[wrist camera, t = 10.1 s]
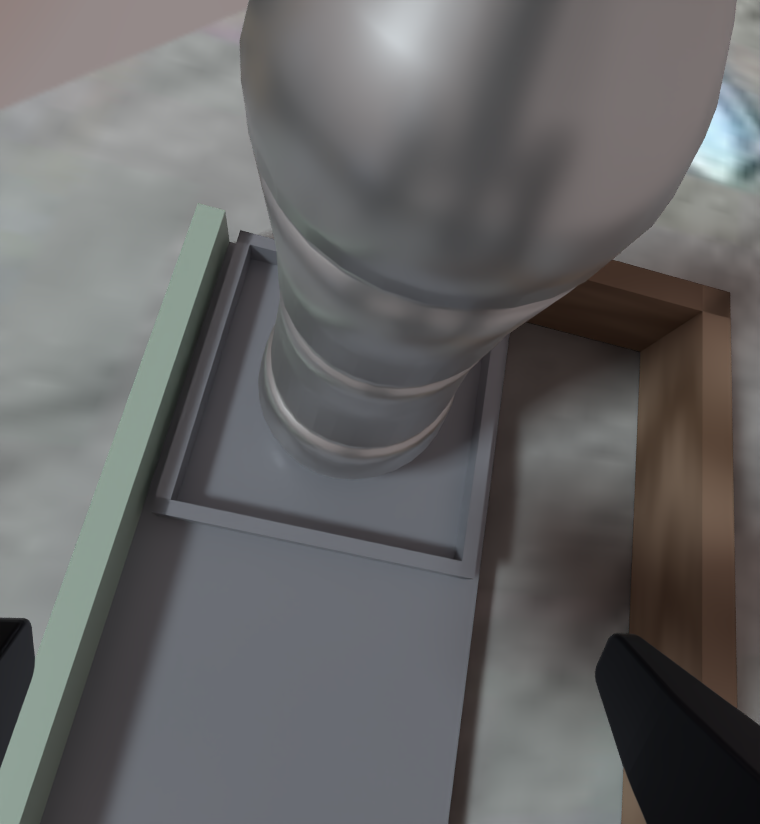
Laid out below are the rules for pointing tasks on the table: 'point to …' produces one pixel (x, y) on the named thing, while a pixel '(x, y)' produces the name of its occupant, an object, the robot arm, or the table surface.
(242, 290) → the tray
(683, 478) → the dock
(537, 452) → the table surface
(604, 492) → the table surface
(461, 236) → the plastic bottle
